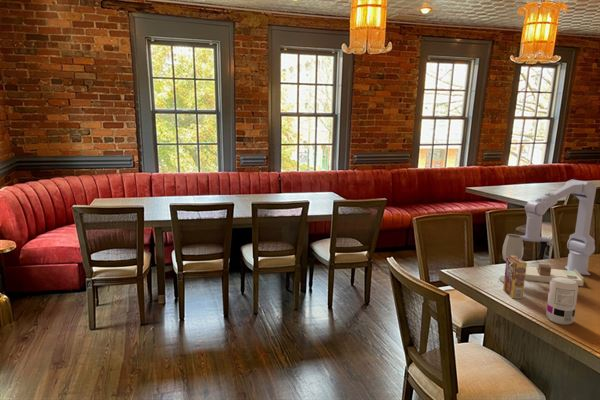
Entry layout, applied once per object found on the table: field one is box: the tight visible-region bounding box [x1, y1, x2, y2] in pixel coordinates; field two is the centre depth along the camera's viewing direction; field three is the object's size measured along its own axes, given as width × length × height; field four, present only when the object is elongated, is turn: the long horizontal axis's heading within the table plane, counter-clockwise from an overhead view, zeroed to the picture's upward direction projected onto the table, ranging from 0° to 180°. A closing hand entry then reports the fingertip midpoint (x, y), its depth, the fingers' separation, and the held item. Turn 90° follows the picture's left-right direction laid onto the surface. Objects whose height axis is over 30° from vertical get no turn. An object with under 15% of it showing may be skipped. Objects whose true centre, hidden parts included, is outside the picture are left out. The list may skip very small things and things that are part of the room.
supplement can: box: [545, 276, 579, 326], centre depth 138 cm, size 8×8×15 cm
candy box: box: [502, 256, 528, 300], centre depth 160 cm, size 9×4×15 cm, turn 176°
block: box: [538, 263, 552, 276], centre depth 176 cm, size 4×4×4 cm
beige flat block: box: [525, 266, 585, 287], centre depth 178 cm, size 12×23×4 cm, turn 70°
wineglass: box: [498, 233, 525, 284], centre depth 173 cm, size 9×9×21 cm
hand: (530, 257), depth 177 cm, fingers open, 6 cm apart
